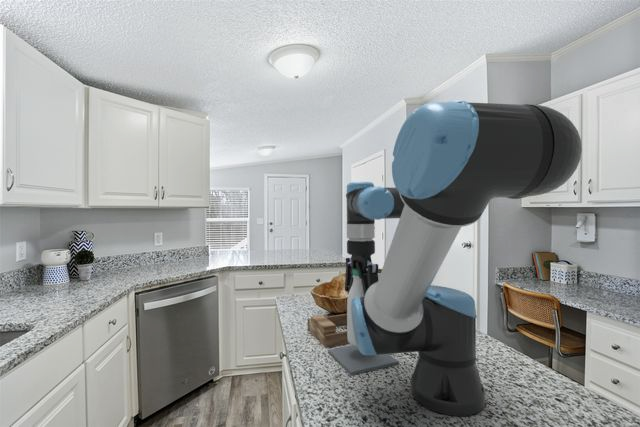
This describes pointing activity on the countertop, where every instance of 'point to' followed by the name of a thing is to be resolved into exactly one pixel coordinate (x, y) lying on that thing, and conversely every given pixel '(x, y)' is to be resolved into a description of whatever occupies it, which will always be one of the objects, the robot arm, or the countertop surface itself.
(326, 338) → the frame
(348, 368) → the rubber mat
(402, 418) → the countertop surface
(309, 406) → the countertop surface
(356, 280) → the milk bottle
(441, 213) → the robot arm
